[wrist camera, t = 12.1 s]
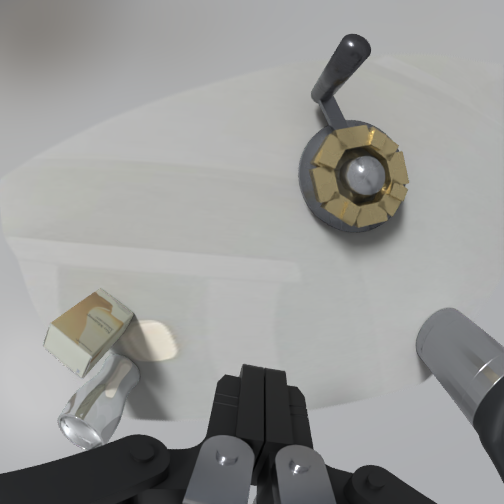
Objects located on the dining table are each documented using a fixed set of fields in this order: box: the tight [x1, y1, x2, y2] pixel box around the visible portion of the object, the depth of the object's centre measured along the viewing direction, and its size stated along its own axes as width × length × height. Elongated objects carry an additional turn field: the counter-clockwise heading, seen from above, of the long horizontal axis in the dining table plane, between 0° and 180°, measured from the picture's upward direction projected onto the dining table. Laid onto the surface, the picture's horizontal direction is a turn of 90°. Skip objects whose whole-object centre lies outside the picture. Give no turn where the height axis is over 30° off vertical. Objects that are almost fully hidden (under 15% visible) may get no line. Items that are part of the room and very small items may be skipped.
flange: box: [298, 120, 405, 232], centre depth 32 cm, size 13×13×6 cm
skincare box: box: [43, 288, 134, 379], centre depth 33 cm, size 6×4×12 cm
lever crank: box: [309, 34, 409, 228], centre depth 25 cm, size 16×11×14 cm, turn 14°
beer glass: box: [58, 354, 140, 451], centre depth 34 cm, size 7×7×15 cm
